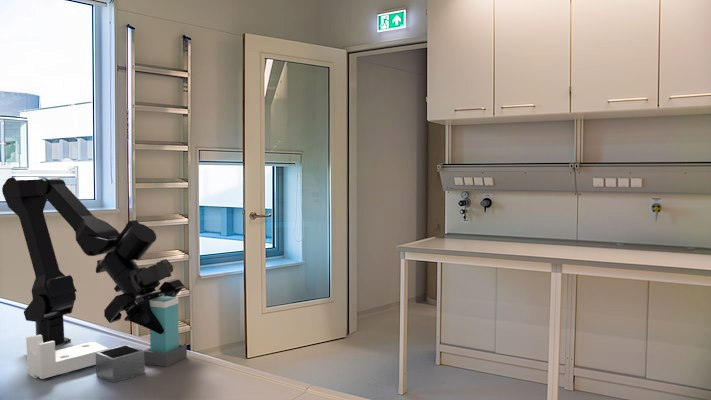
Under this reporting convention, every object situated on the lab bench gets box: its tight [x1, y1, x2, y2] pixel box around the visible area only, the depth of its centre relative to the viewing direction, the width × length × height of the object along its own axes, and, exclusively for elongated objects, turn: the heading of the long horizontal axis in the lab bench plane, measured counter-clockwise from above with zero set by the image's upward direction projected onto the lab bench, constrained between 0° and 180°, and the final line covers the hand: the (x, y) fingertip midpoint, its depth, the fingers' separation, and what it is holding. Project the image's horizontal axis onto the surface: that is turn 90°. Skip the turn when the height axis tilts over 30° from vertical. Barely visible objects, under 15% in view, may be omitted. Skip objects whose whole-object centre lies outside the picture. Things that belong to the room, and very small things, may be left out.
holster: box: [144, 344, 188, 368], centre depth 119 cm, size 6×6×2 cm
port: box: [95, 344, 146, 384], centre depth 111 cm, size 6×6×4 cm
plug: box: [149, 296, 180, 353], centre depth 119 cm, size 4×4×13 cm
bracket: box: [25, 334, 110, 380], centre depth 114 cm, size 13×7×8 cm, turn 139°
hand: (169, 329), depth 118 cm, fingers closed on plug, 4 cm apart
